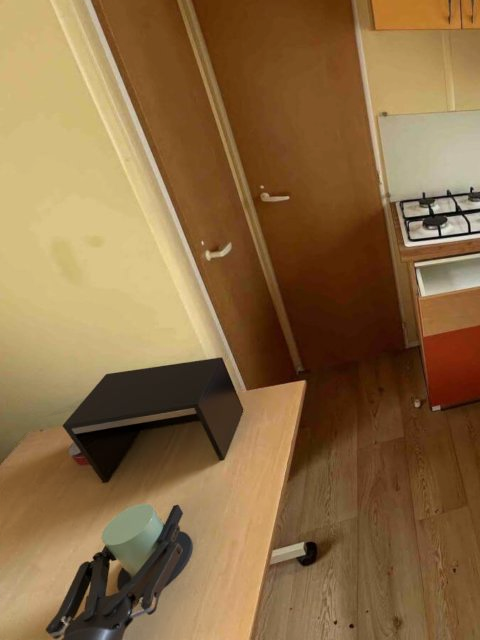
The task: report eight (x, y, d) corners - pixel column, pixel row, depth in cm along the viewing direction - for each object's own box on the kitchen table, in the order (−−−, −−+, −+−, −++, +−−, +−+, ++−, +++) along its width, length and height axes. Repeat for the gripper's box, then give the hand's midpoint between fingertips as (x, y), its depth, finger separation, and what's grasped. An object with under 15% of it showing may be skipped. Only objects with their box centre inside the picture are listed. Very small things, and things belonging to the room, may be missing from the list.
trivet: (102, 598, 74) (99, 596, 73) (150, 533, 83) (148, 530, 83) (164, 599, 73) (162, 596, 73) (206, 533, 83) (204, 530, 83)
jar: (125, 566, 77) (96, 527, 72) (170, 533, 82) (145, 495, 77) (139, 592, 74) (108, 554, 68) (184, 556, 79) (160, 518, 73)
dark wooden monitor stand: (224, 459, 98) (197, 403, 89) (102, 483, 92) (62, 425, 84) (244, 410, 111) (222, 357, 102) (138, 428, 105) (106, 373, 97)
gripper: (3, 707, 59) (101, 539, 79) (166, 662, 63) (220, 513, 83) (-28, 685, 56) (82, 515, 75) (146, 638, 60) (207, 489, 80)
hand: (154, 514), depth 79 cm, fingers closed on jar, 7 cm apart
